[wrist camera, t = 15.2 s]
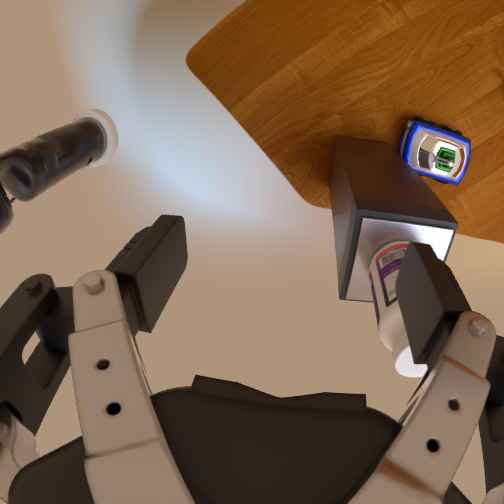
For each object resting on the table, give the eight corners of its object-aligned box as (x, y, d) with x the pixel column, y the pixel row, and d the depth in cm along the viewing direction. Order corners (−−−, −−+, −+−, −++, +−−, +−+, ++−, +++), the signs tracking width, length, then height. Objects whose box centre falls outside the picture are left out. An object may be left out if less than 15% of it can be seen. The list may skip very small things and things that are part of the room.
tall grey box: (329, 188, 50) (338, 304, 27) (334, 135, 45) (357, 211, 22) (380, 194, 49) (427, 311, 26) (388, 142, 44) (460, 225, 20)
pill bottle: (411, 296, 25) (434, 386, 17) (358, 284, 25) (368, 379, 17) (438, 247, 22) (480, 335, 14) (382, 230, 22) (410, 322, 14)
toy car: (403, 111, 40) (422, 120, 33) (464, 132, 39) (491, 146, 31) (391, 164, 46) (406, 184, 38) (451, 181, 44) (473, 203, 37)
